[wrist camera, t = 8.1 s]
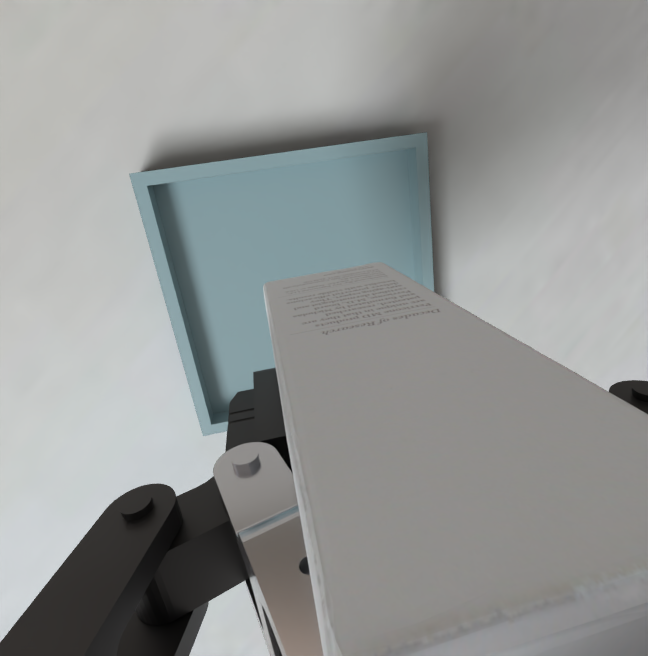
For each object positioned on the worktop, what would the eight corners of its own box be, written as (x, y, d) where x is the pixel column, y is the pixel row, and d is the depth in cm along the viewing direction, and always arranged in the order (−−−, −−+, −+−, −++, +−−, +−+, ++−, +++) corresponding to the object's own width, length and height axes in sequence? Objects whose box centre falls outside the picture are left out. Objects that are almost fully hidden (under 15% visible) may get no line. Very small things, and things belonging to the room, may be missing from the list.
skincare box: (400, 408, 16) (728, 907, 5) (291, 433, 16) (394, 1040, 5) (385, 253, 14) (896, 530, 3) (259, 276, 14) (303, 706, 3)
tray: (413, 135, 22) (427, 132, 20) (426, 373, 27) (438, 386, 25) (138, 174, 20) (129, 173, 19) (206, 419, 25) (203, 436, 24)
